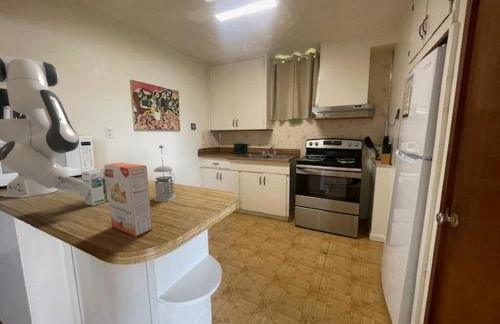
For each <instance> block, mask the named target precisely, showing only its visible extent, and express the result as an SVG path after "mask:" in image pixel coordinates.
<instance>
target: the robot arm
mask: <svg viewBox="0 0 500 324" xmlns="http://www.w3.org/2000/svg"><path fill="white" fill-rule="evenodd" d="M59 79H60V76H59V72H58V71H57V69H56V67H55V66H54V64H51V63H50V62H46V61H39V60H36V59H32V58H27V57H26V58H25V57H18V56H11V55H0V83H6V91H7V96H8V104H9V107H10V108H11V109H12V110H13V111H15V112H16V113H19V114H20V115H23V116H26V117H28V118H1V119H0V141H2V142H4V143H5V144H4V145H2V146H1V147H0V164H1V165H3V166H4V167H6V168H7V169H9V170H11V171H13V172H15V173H17V176H16V177H15V178H14V179H11V181H10V182H8V183H7V185H6V192H4V193H2V194H0V197H1V196H3V197H4V198H18V199H22V198H28V197H35V196H41V195H47V194H51V193H55V192H57V191H64V192H70V193H74V194H78V195H80V196H84V197H85V196H87V195H88V194H89V193H88V191H89V190H90V189H91V187H90V186H89V185H87V184H86V183H84V182H83V180H80V179H78V178H76V177H73V176H70V174H69V169H67V168H66V167H63V166H62V165H60V164H58V163H57V162H56V161H53V158H56V157H57V156H61V155H62V154H66V153H68V152H69V153H70V152H72V151H75V150H77V148H78V146H79V143H80V139H79V138H80V137H79V135H78V134H77V132H76V131H75V129H74V128H73V126H72V124H71V122H70V119H69V117H68V115H67V113H66V110H65V109H64V105H63V104H62V102H61V100H60V98H59V96H58V95H57V94H56V93H54V92H53V91H50V87H55V86H56V85H58V82H59Z"/></svg>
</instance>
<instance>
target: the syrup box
mask: <svg viewBox="0 0 500 324" xmlns="http://www.w3.org/2000/svg"><path fill="white" fill-rule="evenodd" d="M93 170H94V171H90V170H87V171H88V172H84V171H83V172H82V171H81V177H82V182H84V183H86V184H87V185H89V186H90V187H91V189H90V190H89V191H88V193H89V194H88V195H87V196H84V202H85V205H89V206H96V205H99V204H100V205H101V204H103V203H107V202H108V201H107V199H106V191H105V183H104V174H103V171H101V170H96V169H93Z"/></svg>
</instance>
